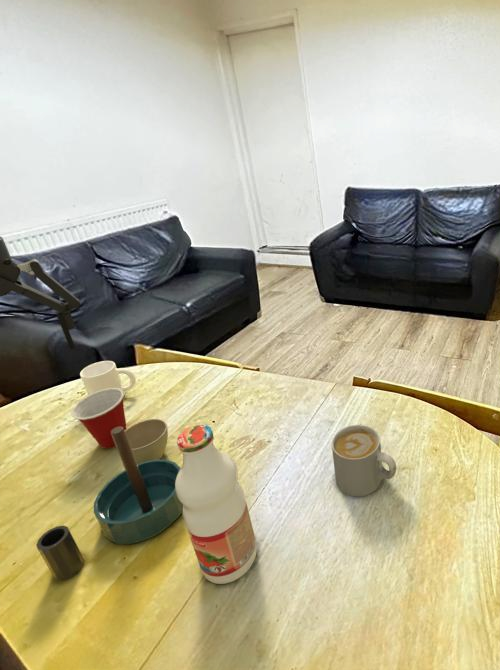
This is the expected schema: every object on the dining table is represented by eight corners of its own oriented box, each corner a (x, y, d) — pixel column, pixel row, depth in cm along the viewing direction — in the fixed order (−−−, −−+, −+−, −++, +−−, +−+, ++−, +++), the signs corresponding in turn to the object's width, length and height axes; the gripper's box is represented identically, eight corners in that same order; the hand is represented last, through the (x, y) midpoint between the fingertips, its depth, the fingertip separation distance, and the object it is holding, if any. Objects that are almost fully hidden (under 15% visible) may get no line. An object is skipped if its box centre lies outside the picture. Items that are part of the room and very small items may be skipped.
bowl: (84, 544, 76) (73, 522, 74) (135, 479, 90) (127, 458, 88) (162, 548, 75) (153, 525, 73) (202, 481, 89) (195, 460, 86)
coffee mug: (326, 483, 87) (321, 446, 83) (355, 453, 94) (352, 418, 90) (377, 512, 80) (375, 474, 76) (404, 478, 87) (403, 441, 83)
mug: (142, 384, 123) (132, 355, 119) (137, 400, 116) (127, 369, 112) (96, 394, 120) (84, 364, 116) (88, 411, 113) (75, 380, 108)
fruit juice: (265, 563, 72) (235, 438, 60) (210, 598, 67) (165, 469, 55) (247, 525, 79) (217, 406, 67) (196, 553, 74) (154, 431, 62)
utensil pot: (47, 580, 70) (29, 549, 67) (67, 555, 75) (51, 524, 71) (71, 581, 70) (54, 550, 67) (90, 556, 74) (75, 525, 71)
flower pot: (158, 436, 102) (150, 413, 99) (183, 450, 97) (176, 427, 95) (117, 463, 95) (107, 439, 92) (142, 480, 90) (133, 455, 87)
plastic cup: (82, 441, 102) (65, 402, 97) (130, 420, 109) (116, 382, 104) (92, 464, 95) (74, 423, 90) (143, 439, 101) (129, 400, 97)
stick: (139, 512, 82) (107, 433, 73) (145, 504, 83) (115, 426, 75) (149, 513, 81) (118, 433, 73) (155, 504, 83) (125, 426, 75)
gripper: (-167, 264, 52) (-82, 401, 61) (71, 227, 66) (111, 342, 75) (-151, 252, 57) (-76, 380, 66) (66, 220, 72) (104, 328, 80)
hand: (24, 360), depth 70 cm, fingers open, 13 cm apart
